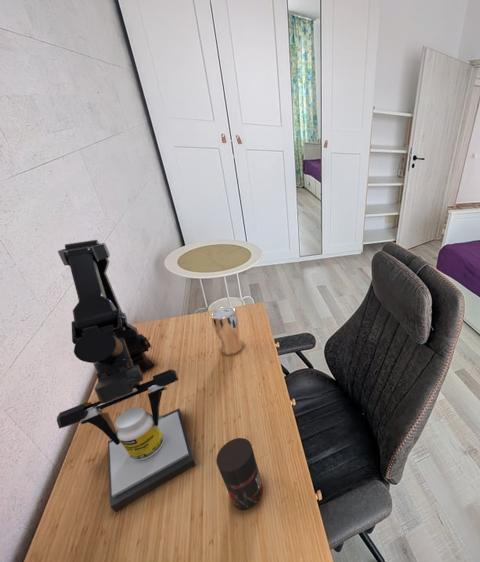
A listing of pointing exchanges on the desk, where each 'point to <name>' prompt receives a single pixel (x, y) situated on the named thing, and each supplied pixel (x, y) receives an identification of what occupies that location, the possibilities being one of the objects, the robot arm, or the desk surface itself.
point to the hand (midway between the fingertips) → (138, 434)
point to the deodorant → (240, 473)
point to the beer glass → (227, 329)
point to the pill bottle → (138, 433)
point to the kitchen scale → (149, 463)
